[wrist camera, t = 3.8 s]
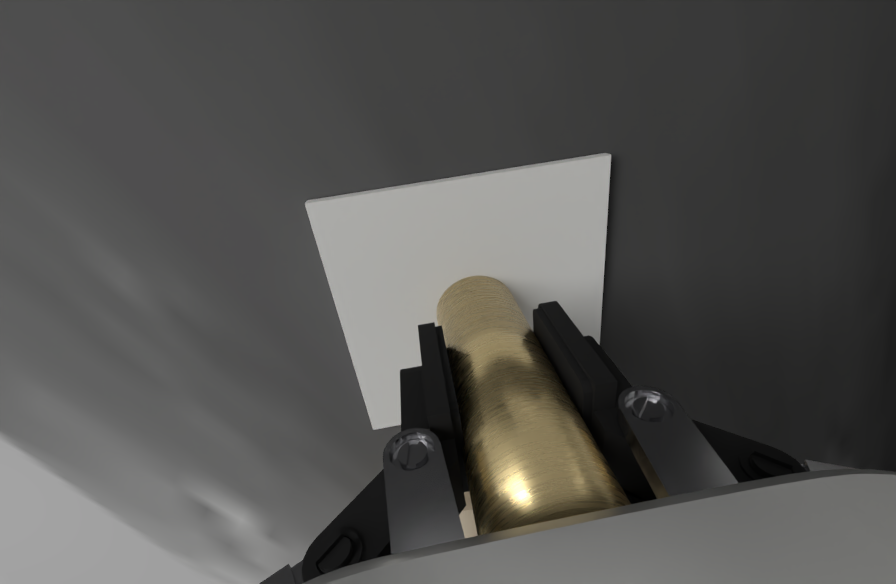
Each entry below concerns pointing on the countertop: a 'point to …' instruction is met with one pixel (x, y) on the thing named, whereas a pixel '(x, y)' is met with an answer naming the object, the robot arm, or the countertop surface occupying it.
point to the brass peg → (517, 416)
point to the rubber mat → (459, 257)
